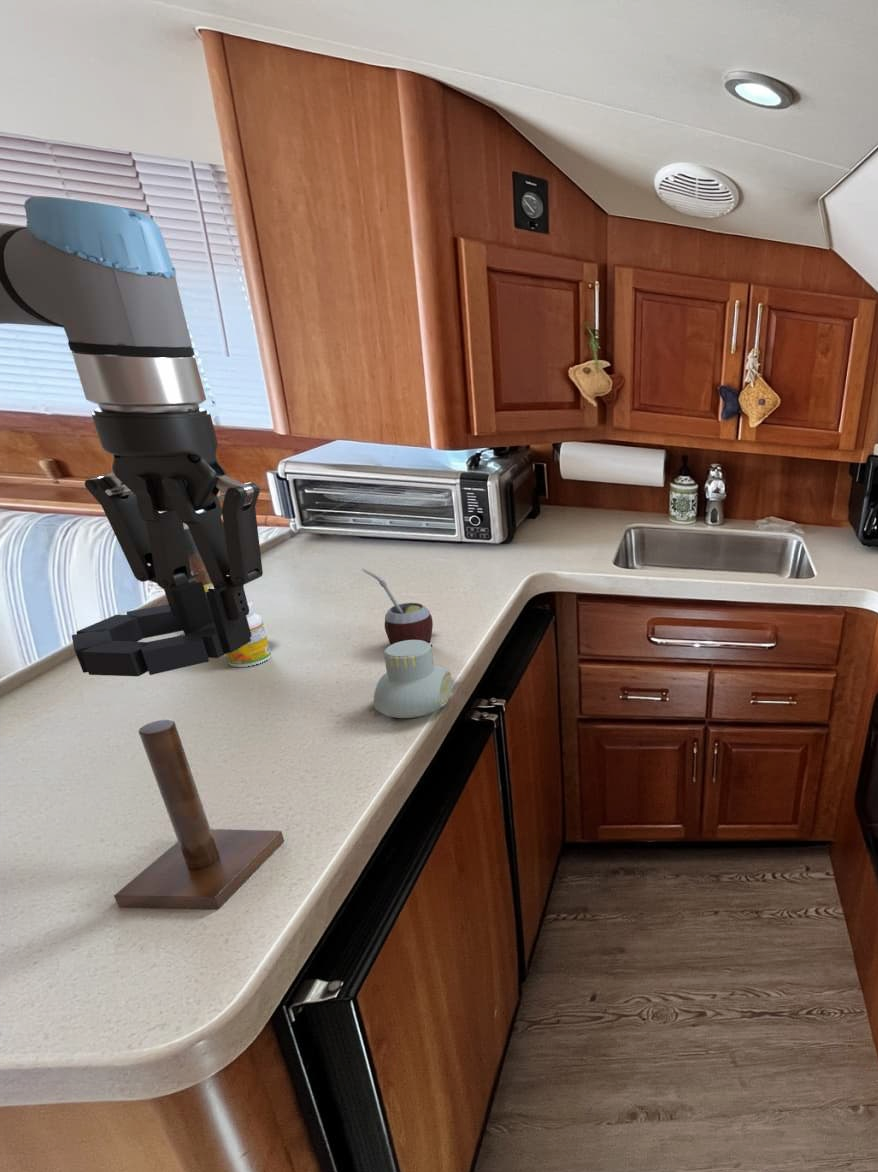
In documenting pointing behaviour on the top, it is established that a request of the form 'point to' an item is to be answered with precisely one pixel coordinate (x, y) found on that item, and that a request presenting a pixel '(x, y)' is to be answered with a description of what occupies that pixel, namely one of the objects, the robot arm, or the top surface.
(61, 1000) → the top surface
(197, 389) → the robot arm
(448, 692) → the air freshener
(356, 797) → the top surface
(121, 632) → the ring
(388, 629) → the mate gourd
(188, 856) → the stand
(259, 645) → the supplement bottle
